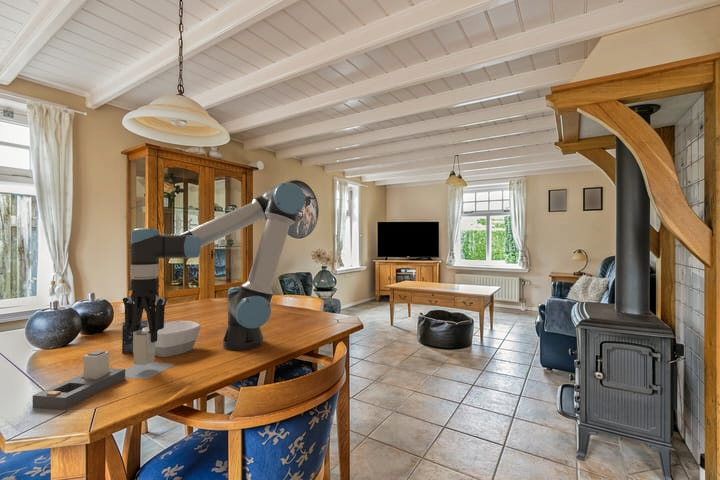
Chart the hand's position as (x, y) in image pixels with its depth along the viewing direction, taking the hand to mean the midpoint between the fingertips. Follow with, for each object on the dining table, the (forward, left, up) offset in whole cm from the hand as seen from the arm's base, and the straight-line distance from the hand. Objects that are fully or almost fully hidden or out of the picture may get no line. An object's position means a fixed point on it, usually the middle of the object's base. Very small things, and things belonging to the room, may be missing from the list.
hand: (144, 351), depth 107 cm
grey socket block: (+5, +16, -6) cm, 18 cm away
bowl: (+4, -18, -7) cm, 20 cm away
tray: (0, 0, -6) cm, 6 cm away
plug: (+5, +12, -6) cm, 14 cm away
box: (+18, -17, -7) cm, 26 cm away
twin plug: (0, 0, -3) cm, 3 cm away
